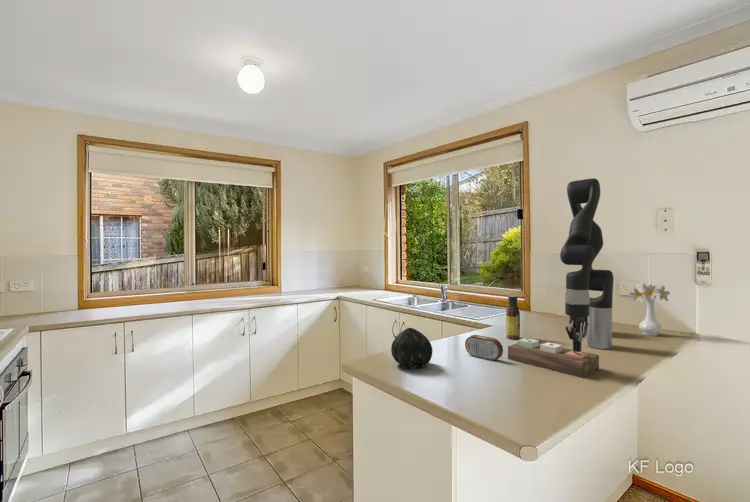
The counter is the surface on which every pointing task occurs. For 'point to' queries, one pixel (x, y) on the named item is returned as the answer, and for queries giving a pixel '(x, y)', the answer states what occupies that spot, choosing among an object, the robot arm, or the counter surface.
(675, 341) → the counter surface
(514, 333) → the sauce bottle
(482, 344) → the tin
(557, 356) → the console
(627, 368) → the counter surface
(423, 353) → the squash
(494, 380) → the counter surface
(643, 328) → the flower vase
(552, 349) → the one dot button
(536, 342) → the two dot button
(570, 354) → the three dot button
